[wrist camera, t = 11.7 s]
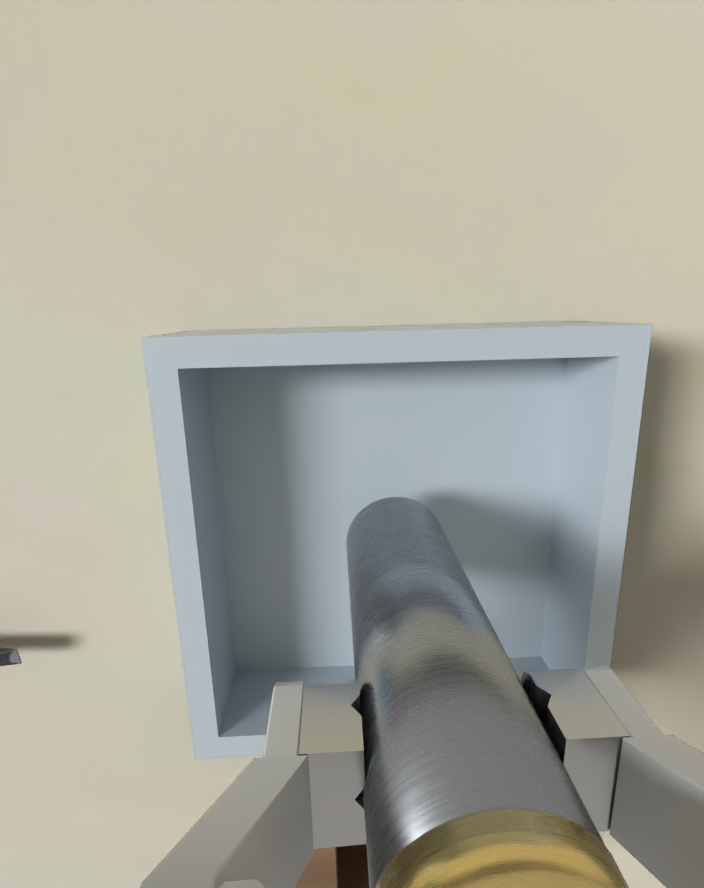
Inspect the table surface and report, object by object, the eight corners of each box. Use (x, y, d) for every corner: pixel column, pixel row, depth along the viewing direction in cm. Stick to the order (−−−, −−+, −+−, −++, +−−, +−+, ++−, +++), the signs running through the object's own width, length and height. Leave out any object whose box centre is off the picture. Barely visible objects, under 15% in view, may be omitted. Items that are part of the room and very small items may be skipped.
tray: (549, 655, 20) (601, 737, 16) (221, 672, 20) (194, 759, 16) (579, 320, 17) (652, 324, 13) (185, 331, 17) (141, 337, 13)
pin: (442, 584, 16) (661, 1119, 5) (346, 588, 16) (380, 1142, 5) (444, 494, 15) (704, 912, 5) (343, 498, 15) (376, 935, 5)
